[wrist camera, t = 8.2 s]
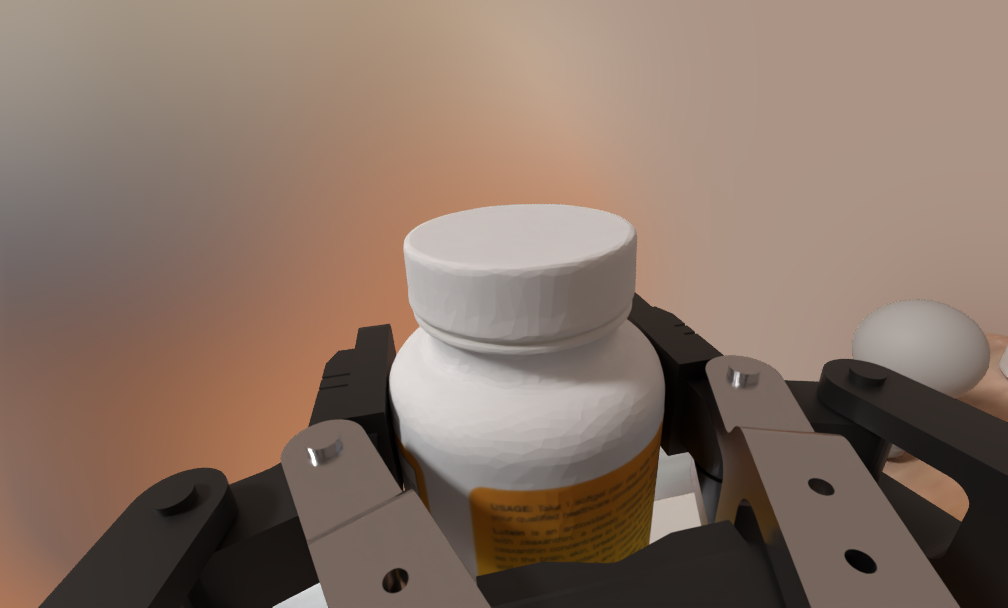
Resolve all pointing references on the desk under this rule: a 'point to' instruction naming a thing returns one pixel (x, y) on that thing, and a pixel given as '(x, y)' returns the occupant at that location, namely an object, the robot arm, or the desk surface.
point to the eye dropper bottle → (1004, 363)
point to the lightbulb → (924, 346)
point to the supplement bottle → (528, 387)
